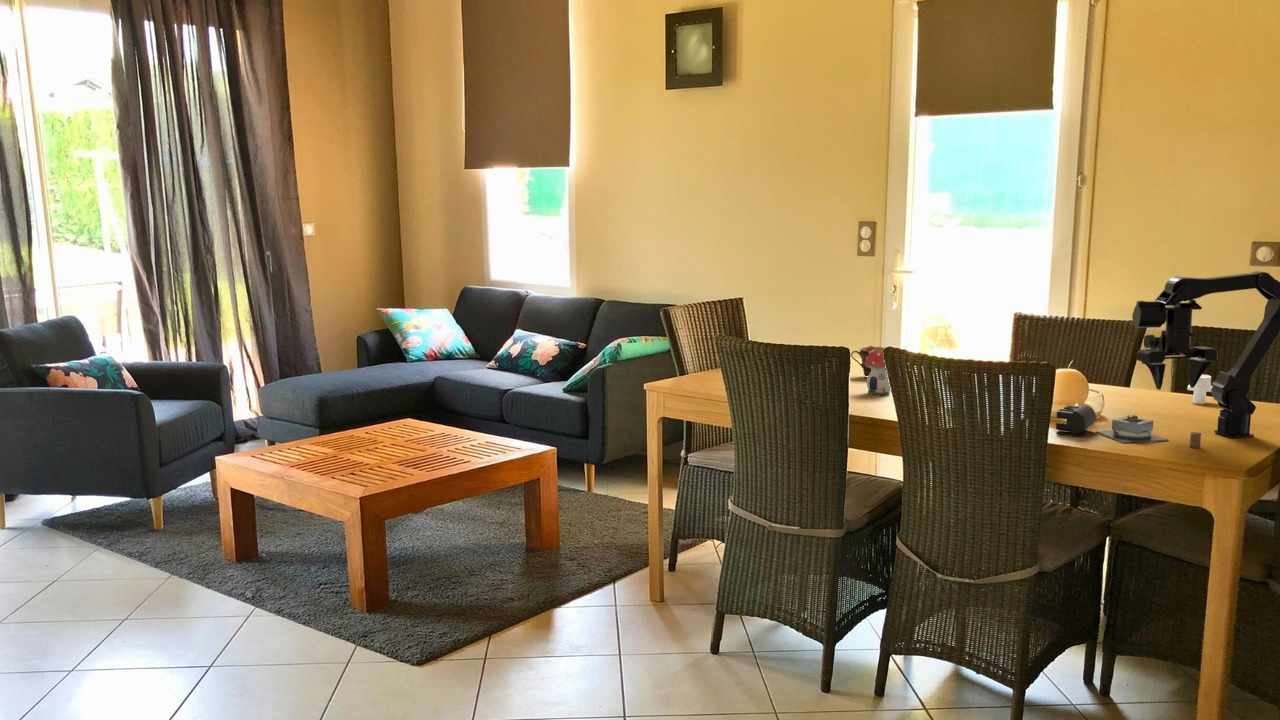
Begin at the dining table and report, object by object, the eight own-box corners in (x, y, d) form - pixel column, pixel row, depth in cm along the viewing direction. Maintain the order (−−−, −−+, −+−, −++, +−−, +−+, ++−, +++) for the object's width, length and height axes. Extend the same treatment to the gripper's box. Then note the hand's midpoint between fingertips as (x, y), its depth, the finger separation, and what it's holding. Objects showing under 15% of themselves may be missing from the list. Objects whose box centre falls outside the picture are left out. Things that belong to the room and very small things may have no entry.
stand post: (1195, 446, 247) (1196, 432, 246) (1202, 448, 244) (1203, 434, 244) (1187, 446, 246) (1188, 432, 246) (1193, 448, 244) (1194, 434, 244)
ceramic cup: (887, 375, 352) (887, 346, 351) (891, 380, 342) (892, 351, 341) (849, 375, 353) (849, 346, 352) (852, 380, 343) (852, 351, 342)
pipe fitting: (1217, 404, 295) (1219, 377, 294) (1192, 404, 295) (1194, 377, 294) (1205, 400, 301) (1207, 373, 300) (1181, 400, 301) (1183, 374, 300)
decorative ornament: (860, 393, 321) (861, 345, 318) (875, 390, 324) (876, 344, 322) (881, 397, 313) (882, 349, 311) (897, 395, 316) (898, 347, 314)
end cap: (1084, 438, 256) (1085, 412, 255) (1055, 434, 261) (1056, 409, 260) (1095, 431, 264) (1096, 405, 263) (1067, 427, 268) (1068, 402, 267)
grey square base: (1125, 425, 262) (1126, 416, 261) (1152, 429, 256) (1153, 420, 256) (1111, 429, 257) (1112, 419, 257) (1139, 433, 252) (1139, 424, 251)
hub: (1138, 430, 264) (1140, 410, 263) (1168, 441, 252) (1169, 419, 251) (1095, 432, 262) (1096, 412, 261) (1123, 443, 250) (1124, 421, 250)
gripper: (1190, 322, 264) (1187, 381, 267) (1124, 325, 262) (1121, 385, 264) (1220, 327, 254) (1217, 388, 256) (1152, 330, 251) (1149, 392, 253)
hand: (1175, 388), depth 258 cm, fingers open, 9 cm apart
